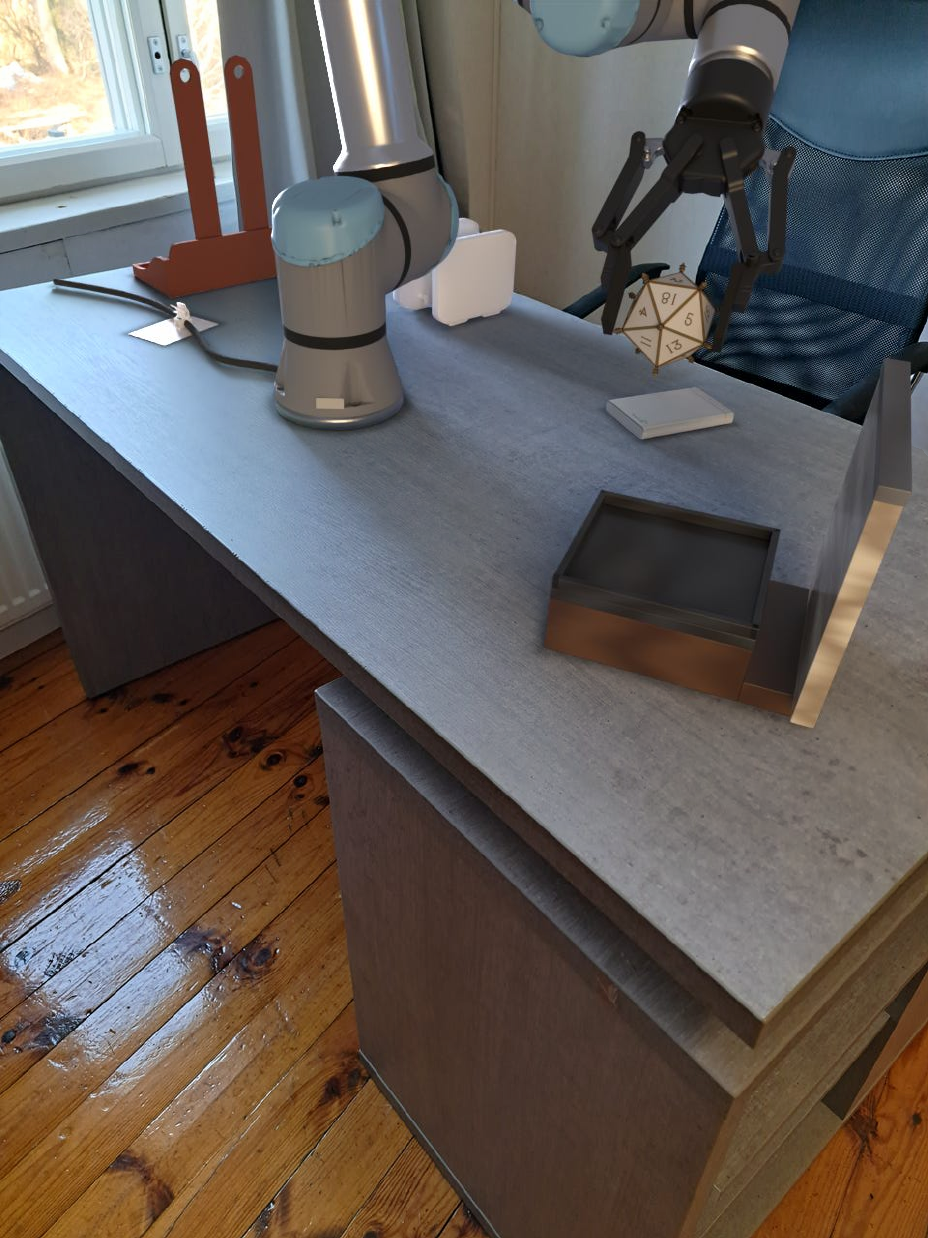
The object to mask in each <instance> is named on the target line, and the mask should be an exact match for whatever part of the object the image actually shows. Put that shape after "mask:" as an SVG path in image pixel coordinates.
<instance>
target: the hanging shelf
mask: <svg viewBox="0 0 928 1238" xmlns="http://www.w3.org/2000/svg"><path fill="white" fill-rule="evenodd" d="M238 66H239V67H240V68H241V72H242V74H241V76H240V77H239V78H238V77H237V76H236V74H235V69H236V67H238ZM183 70H187V72H188V75H189V77H188V80H187V81H183V80H182V77H181V73H182V71H183ZM223 74H224V75H223V76H224V82H225V90H226V98H227V99H226V100H227V106H228V107H227V108H228V114H229V115H228V116H229V122H230V123H229V124H230V131H231V139H232V146H233V154H234V164H235V170H236V179H237V185H238V186H237V187H238V194H239V195H238V196H239V204H240V210H241V219H242V227H243V230H241V231H237V232H230V233H225V234H224V233H223V232H222V224H221V223H222V222H221V217H220V209H219V203H218V195H217V189H216V188H217V187H216V182H215V174H214V173H215V172H214V167H213V160H212V152H211V145H210V138H209V130H208V124H207V123H208V122H207V116H206V110H205V109H206V108H205V102H204V95H203V87H202V80H201V73H200V71H199V69H198V67H197V65H196V64H195V63H194V61H192V60H189V59H186V58H183V57H180V58H177V59H175V60H174V61H173V62H172V64H171V66H170V69H169V78H170V79H169V80H170V85H171V91H172V98H173V104H174V110H175V116H176V123H177V131H178V136H179V137H178V138H179V144H180V148H181V154H182V162H183V168H184V173H185V179H186V186H187V193H188V200H189V206H190V213H191V218H192V223H193V225H192V226H193V232H194V237H195V239H190V240H184V241H183V240H182V241H178V242H174V243H172V244H171V245H170V247H169V252H168V257H167V258H166V257H164V256H154V257H153V258H152V259H151V260H150V261H144V262H143V261H142V262H139V263H133V264H131V267H132V271H133V276H134V277H136V278H137V279H139V280H141V281H142V282H143V283H146V284H147V285H149V286H150V287H152V288H154V289H155V290H157V291H158V292H160V293H162V294H163V295H166V296H167V297H168V298H169V299H174V298H179V297H183V296H187V295H192V294H198V293H202V292H207V291H212V290H217V289H223V288H228V287H232V286H236V285H242V284H246V283H251V282H255V281H261V280H266V279H270V278H275V277H276V278H277V272H276V263H275V255H274V249H273V246H272V240H271V234H272V225H271V226H270V225H269V224H270V223H269V216H268V206H267V196H266V187H265V179H264V168H263V160H262V159H263V158H262V150H261V149H262V148H261V140H260V131H259V121H258V111H257V103H256V93H255V84H254V75H253V68H252V65H251V63H250V62H249V61H248V59H246V57H243V56H240V55H237V54H235V55H232V56H230V57H227V60H226V62H225V63H224V69H223Z"/></svg>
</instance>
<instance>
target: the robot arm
mask: <svg viewBox="0 0 928 1238" xmlns="http://www.w3.org/2000/svg"><path fill="white" fill-rule="evenodd" d="M313 1H314V5H315V11H316V17H317V21H318V26H319V31H320V37H321V41H322V47H323V52H324V57H325V63H326V68H327V73H328V78H329V83H330V88H331V94H332V99H333V104H334V109H335V114H336V119H337V125H338V130H339V135H340V140H341V145H342V150H341V153H340V155H339V157H338V158H337V160H336V162H335V164H334V165H333V167H332V168H333V172H334V175H333V176H332V175H330V176H329V175H327V176H322V177H320V178H318V179H312V178H310V179H306V180H303V181H299V182H296V183H294V184H292V185H291V186H288V187H287V188H285V189H284V190H282V191H281V192H280V193H279V194H278V195H277V197H276V198H275V199H274V201H273V204H272V208H271V226H272V234H271V240H272V246H273V249H274V255H275V263H276V272H277V276H276V280H277V289H278V290H277V291H278V296H279V297H278V299H279V309H280V316H281V325H282V334H283V342H282V347H281V352H280V357H279V361H278V364H274V363H269V362H264V361H257V360H248V359H242V358H235V357H231V356H227V355H224V354H222V353H219V352H217V351H216V350H214V349H213V348H212V347H211V345H210V344H209V342H208V340H207V339H206V338H205V337H204V335H203V334H202V333H201V332H199V331H198V330H197V329H196V328H195V327H194V326H193V325H192V323H190V322H189V321H188V320H185V321H184V326H185V327H186V328H187V329H188V330H189V331H190V333H191V334H192V335H191V336H193V338H194V339H195V340H196V341H197V342H198V343H199V345H200V346H201V348H202V349H203V352H205V354H206V355H207V357H209V358H211V359H212V360H214V361H217V362H219V363H221V364H224V365H229V366H233V367H238V368H244V369H245V368H247V369H253V370H259V371H260V370H261V371H268V372H271V373H275V378H274V382H273V383H274V384H273V401H274V408H275V409H276V411H277V412H278V413H279V415H280V416H282V417H283V418H285V419H286V420H288V421H289V422H292V423H294V424H297V425H300V426H304V427H307V428H313V429H321V430H353V429H359V428H365V427H369V426H373V425H376V424H379V423H383V422H384V421H387V420H389V419H390V418H392V417H393V416H396V415H397V413H398V412H400V410H401V409H402V407H403V405H404V385H403V380H402V378H401V376H400V372H399V369H398V366H397V364H396V361H395V358H394V355H393V352H392V350H391V347H390V344H389V341H388V337H387V307H386V306H387V305H386V302H387V301H386V296H387V295H388V294H390V293H393V291H394V290H396V289H398V288H400V287H401V286H403V285H405V284H407V283H409V282H410V281H412V280H416V279H419V278H421V277H423V276H425V275H427V274H429V273H430V272H431V271H432V270H433V269H435V268H436V266H437V265H439V264H440V263H441V262H442V261H443V260H444V259H445V258H446V257H447V256H448V254H449V253H450V251H451V250H452V248H453V246H454V244H455V241H456V238H457V234H458V228H459V218H460V211H459V205H458V202H457V198H456V195H455V193H454V191H453V189H452V187H451V185H450V184H449V183H447V182H446V181H445V180H444V178H443V176H442V175H441V174H440V173H438V172H437V167H436V160H435V153H434V149H432V148H431V147H430V146H429V145H428V144H427V143H426V142H424V141H423V139H421V138H420V137H419V134H418V129H417V123H416V117H415V110H414V103H413V97H412V90H411V83H410V76H409V70H408V69H409V68H408V64H407V57H406V56H407V55H406V49H405V44H404V38H403V37H404V35H403V31H402V24H401V16H400V10H399V3H398V2H399V1H398V0H313ZM512 1H513V2H514V3H515V4H517V5H519V6H520V8H522V9H523V10H525V11H526V13H528V14H529V15H530V16H531V19H532V21H533V24H534V27H535V29H536V32H537V33H538V34H539V37H540V38H541V39H542V41H543V42H544V44H546V45H547V46H548V47H549V48H550V49H552V50H553V51H555V52H557V53H559V54H562V55H564V56H571V57H576V58H591V57H594V56H595V57H596V56H600V55H603V54H605V53H607V52H610V51H613V50H615V49H619V48H625V47H629V46H633V45H634V46H635V45H638V44H642V43H649V42H664V41H679V40H681V41H682V40H696V44H695V47H694V49H693V50H694V52H693V54H692V57H691V61H690V64H689V68H688V72H687V78H686V80H685V83H684V86H683V89H682V93H681V97H680V100H679V104H678V107H677V110H676V113H675V118H674V121H673V124H672V126H671V127H670V129H669V130H668V131H667V132H666V133H665V134H664V135H663V137H648V138H647V137H646V134H645V132H643V130H637V131H635V132H633V134H632V135H631V138H630V144H629V153H628V157H627V159H626V161H625V162H624V165H623V166H622V168H621V170H620V172H619V174H618V176H617V179H616V180H615V182H614V184H613V186H612V187H611V189H610V192H609V193H608V195H607V197H606V200H605V201H604V203H603V205H602V207H601V209H600V210H599V212H598V215H597V216H596V219H595V220H594V223H593V224H592V225H591V230H590V231H591V236H592V244H593V249H595V251H597V252H604V253H606V256H605V260H604V263H603V268H602V271H601V273H600V285H601V286H600V287H601V292H602V293H607V295H606V299H605V303H604V306H603V309H602V314H601V317H600V321H601V328H602V334H604V335H608V336H613V334H614V333H612V332H613V331H614V330H615V328H616V323H617V319H618V316H619V312H620V308H621V305H622V302H623V297H624V294H625V291H626V287H627V284H628V281H629V277H630V274H631V270H632V267H633V262H632V250H633V249H634V248H635V247H636V246H637V244H639V242H640V241H641V240H642V238H643V237H644V236H645V235H646V234H647V233H648V231H649V230H650V229H651V228H652V227H653V226H654V224H655V223H656V222H657V221H658V219H660V217H661V216H662V215H663V214H664V212H665V211H666V210H667V209H668V208H669V206H670V205H671V204H674V203H676V202H677V201H678V200H679V198H680V197H681V196H682V194H688V195H696V194H697V195H698V194H704V195H707V196H709V197H715V198H721V196H722V197H723V203H724V206H725V210H726V211H727V214H728V219H729V223H730V228H731V231H732V232H731V233H732V237H733V240H734V246H735V250H736V253H737V258H738V261H733V262H732V267H731V270H730V274H729V277H728V281H727V285H726V288H725V292H724V296H723V299H722V303H721V305H722V306H721V305H720V306H721V310H720V312H719V314H718V317H717V321H716V325H715V329H714V333H713V336H712V344H711V346H712V349H711V352H712V353H716V354H722V351H723V347H724V344H725V341H726V336H727V333H728V329H729V325H730V321H731V318H732V314H733V313H739V314H745V312H746V311H747V309H748V308H749V304H750V300H751V297H752V293H753V289H754V286H755V283H756V280H757V278H759V277H760V276H762V275H767V274H768V275H769V276H777V275H778V274H780V272H781V271H782V268H783V263H784V260H785V259H784V258H785V255H786V254H785V253H786V241H787V240H786V237H787V215H788V214H787V213H788V212H787V211H788V210H787V208H788V189H789V188H788V184H789V182H790V180H791V178H792V176H793V172H794V169H795V163H796V158H797V153H798V150H797V148H795V146H793V145H788V146H785V147H784V148H783V149H782V150H781V151H779V150H775V149H771V148H766V143H765V141H764V136H765V135H764V134H765V132H766V128H767V124H768V121H769V117H770V113H771V110H772V105H773V102H774V99H775V91H776V90H777V87H778V84H779V80H780V76H781V74H782V73H781V72H782V69H783V66H784V62H785V59H786V55H787V51H788V47H789V43H790V38H791V33H792V29H793V27H794V23H795V20H796V16H797V13H798V10H799V6H800V3H801V0H512ZM661 156H662V157H663V159H664V161H665V163H666V166H665V168H664V169H663V170H662V171H661V174H660V176H659V178H658V180H657V181H656V182H655V183H654V185H653V186H652V187H651V188H649V191H648V192H647V193H646V194H645V195H644V197H643V198H642V199H641V200H640V201H639V202H638V203H637V205H636V206H635V207H634V208H633V209H632V211H631V212H630V213H629V214H628V216H627V217H626V218H625V219H624V221H622V219H623V218H624V215H626V212H627V210H628V208H629V206H630V204H631V202H632V200H633V198H634V196H635V194H636V193H637V191H638V189H639V186H640V184H641V183H642V180H643V178H644V175H645V171H646V170H649V169H651V168H652V166H653V164H654V163H655V160H656V159H657V158H658V157H661ZM760 167H762V168H763V170H764V178H765V179H766V181H767V182H768V183H769V184H770V188H769V197H768V214H767V215H768V216H767V217H768V218H767V240H766V250H763V251H762V249H759V245H758V242H757V237H756V233H755V228H754V224H753V219H752V215H751V211H750V208H749V207H750V206H749V202H748V199H747V194H746V191H745V182H744V181H745V179H747V178H748V177H749V176H750V175H752V173H754V172H755V171H756V170H757V169H759V168H760ZM621 221H622V223H621ZM52 283H53V285H55V286H59V287H65V288H72V289H77V290H84V291H90V292H95V293H99V294H105V295H110V296H116V297H121V298H124V299H129V300H132V301H136V302H139V303H142V304H145V305H148V306H151V307H153V308H156V309H158V310H160V311H162V312H164V313H165V314H168V315H169V316H170V317H171V318H173V317H174V318H175V317H176V316H177V313H174V312H173V311H176V309H175V308H173V307H172V306H170V305H167V304H165V303H162V302H161V301H158V300H156V299H153V298H151V297H147V296H144V295H141V294H138V293H134V292H130V291H126V290H122V289H119V288H113V287H107V286H102V285H97V284H91V283H86V282H80V281H74V280H69V279H62V278H53V280H52ZM180 319H182V318H179V320H180Z"/></svg>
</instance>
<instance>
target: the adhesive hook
mask: <svg viewBox="0 0 928 1238" xmlns="http://www.w3.org/2000/svg"><path fill="white" fill-rule="evenodd" d="M169 306H170V307H171V308H173V309H174V310H176V311H173V312H174V313H177V316H176V317H175V318H173V317H172V318H173V327H174V328H176V329H178V330H180V331H181V330H183V329H184V328H185V326H184V321H185V320H188V321H189V322H190V323H193V319H192V318H191V316H192V315H190V311H189V309H188V308H187V306H186V304H185V303H184V302H179V301H177V302H176V305H173V304H170V305H169ZM179 318H182V319H180V320H179Z"/></svg>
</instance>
